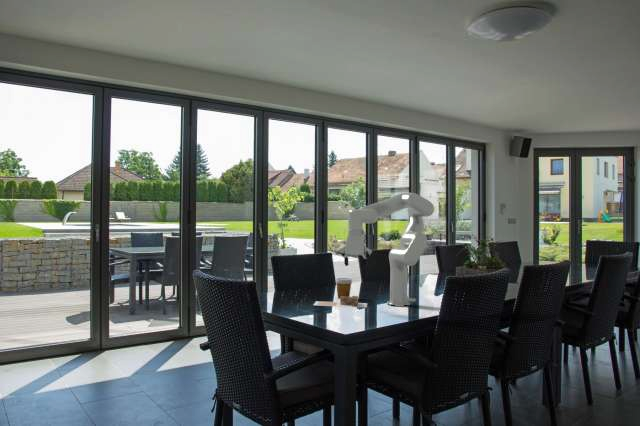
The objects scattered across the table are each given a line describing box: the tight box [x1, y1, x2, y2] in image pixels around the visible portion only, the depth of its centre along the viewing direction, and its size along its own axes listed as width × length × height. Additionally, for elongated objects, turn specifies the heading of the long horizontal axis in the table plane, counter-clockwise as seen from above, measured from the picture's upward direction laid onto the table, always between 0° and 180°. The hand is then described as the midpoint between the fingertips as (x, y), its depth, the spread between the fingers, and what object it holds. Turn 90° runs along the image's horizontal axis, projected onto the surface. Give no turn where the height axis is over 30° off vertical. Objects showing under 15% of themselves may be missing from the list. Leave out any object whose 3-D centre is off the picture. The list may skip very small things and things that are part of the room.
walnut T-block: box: [339, 295, 359, 308], centre depth 259 cm, size 9×9×4 cm
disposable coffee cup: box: [335, 277, 353, 300], centre depth 279 cm, size 10×10×12 cm
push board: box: [313, 300, 368, 308], centre depth 260 cm, size 28×12×1 cm, turn 83°
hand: (355, 266), depth 253 cm, fingers open, 9 cm apart
